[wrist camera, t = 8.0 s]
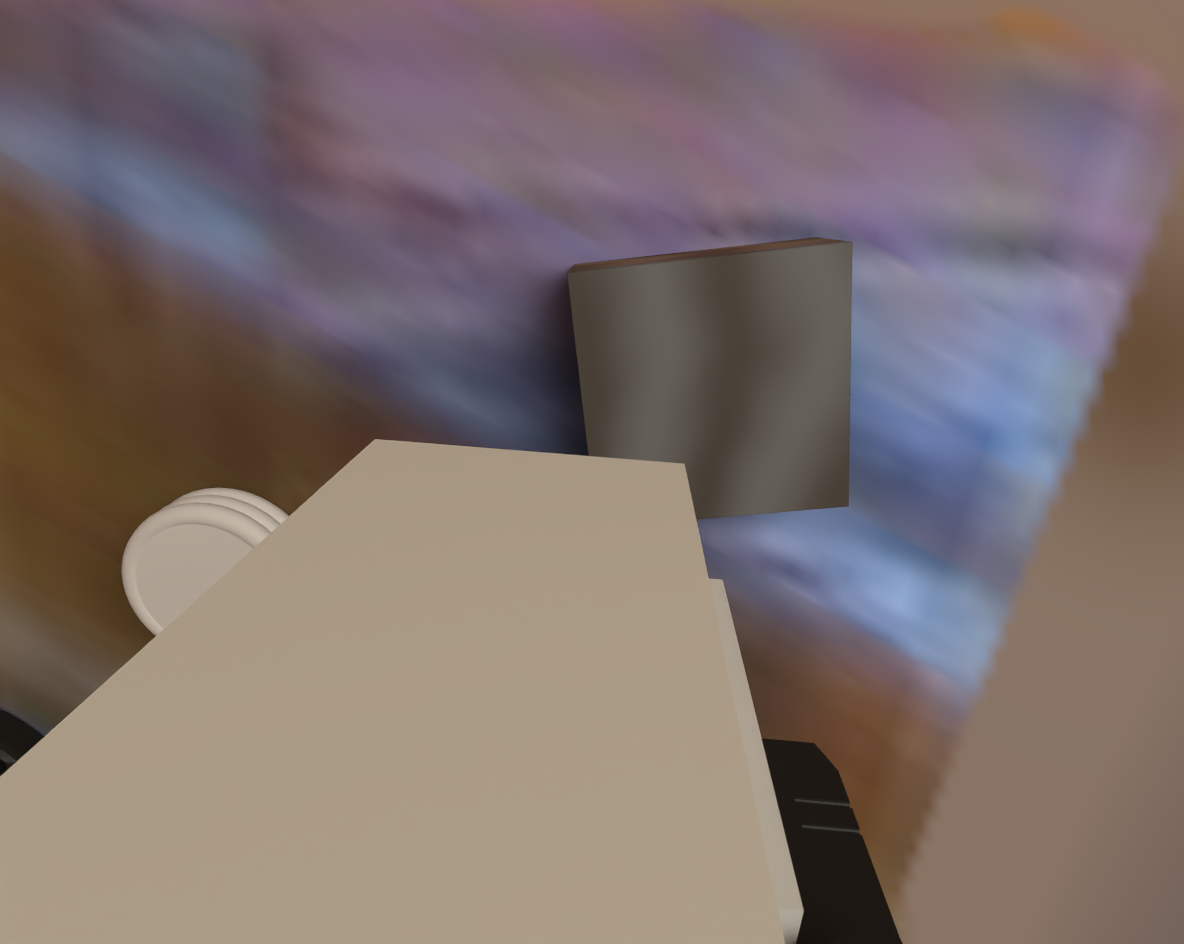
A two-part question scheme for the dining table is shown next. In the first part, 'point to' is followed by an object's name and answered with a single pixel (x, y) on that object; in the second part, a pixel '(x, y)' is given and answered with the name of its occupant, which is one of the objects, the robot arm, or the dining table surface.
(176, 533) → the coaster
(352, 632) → the cream block
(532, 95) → the dining table surface
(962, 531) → the dining table surface
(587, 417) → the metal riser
